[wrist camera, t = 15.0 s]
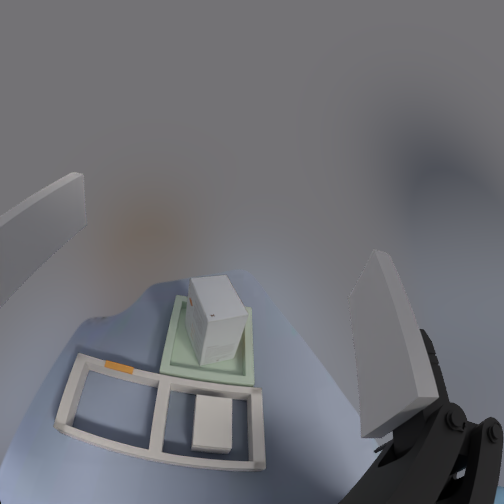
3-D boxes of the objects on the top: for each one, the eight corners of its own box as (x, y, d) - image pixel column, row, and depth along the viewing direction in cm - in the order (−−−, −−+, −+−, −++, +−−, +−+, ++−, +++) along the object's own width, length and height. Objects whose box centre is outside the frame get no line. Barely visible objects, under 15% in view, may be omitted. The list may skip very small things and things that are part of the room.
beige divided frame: (256, 395, 36) (262, 386, 34) (260, 471, 26) (266, 468, 24) (82, 361, 32) (77, 351, 30) (60, 432, 22) (52, 425, 20)
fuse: (227, 407, 33) (232, 398, 31) (227, 454, 27) (232, 449, 25) (194, 403, 33) (196, 393, 31) (190, 450, 27) (192, 445, 25)
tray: (248, 317, 48) (251, 307, 47) (250, 391, 36) (254, 384, 35) (175, 304, 46) (176, 294, 45) (159, 379, 34) (159, 370, 33)
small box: (233, 359, 39) (250, 315, 33) (198, 367, 37) (207, 322, 31) (215, 320, 45) (227, 273, 39) (183, 325, 42) (189, 276, 36)
